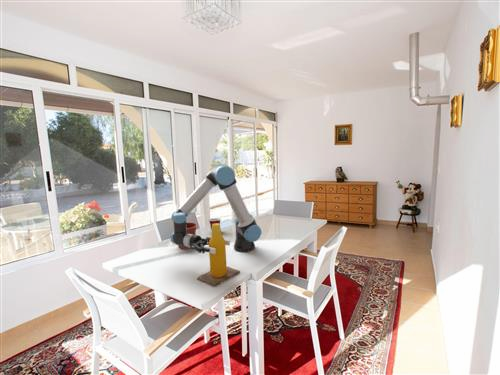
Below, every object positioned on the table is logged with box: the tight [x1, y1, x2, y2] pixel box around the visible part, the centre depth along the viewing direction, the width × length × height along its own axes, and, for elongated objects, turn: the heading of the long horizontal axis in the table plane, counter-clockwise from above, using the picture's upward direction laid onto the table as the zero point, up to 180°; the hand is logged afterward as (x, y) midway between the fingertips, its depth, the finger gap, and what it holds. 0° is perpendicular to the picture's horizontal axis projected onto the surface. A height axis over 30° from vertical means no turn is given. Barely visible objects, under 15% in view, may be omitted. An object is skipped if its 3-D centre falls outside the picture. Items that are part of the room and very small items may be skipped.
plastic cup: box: [208, 217, 222, 231], centre depth 229 cm, size 11×11×12 cm
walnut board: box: [196, 265, 241, 288], centre depth 149 cm, size 20×14×1 cm
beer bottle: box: [208, 223, 227, 278], centre depth 147 cm, size 9×9×29 cm
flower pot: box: [177, 221, 198, 250], centre depth 197 cm, size 16×16×16 cm
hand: (222, 246), depth 145 cm, fingers open, 13 cm apart
